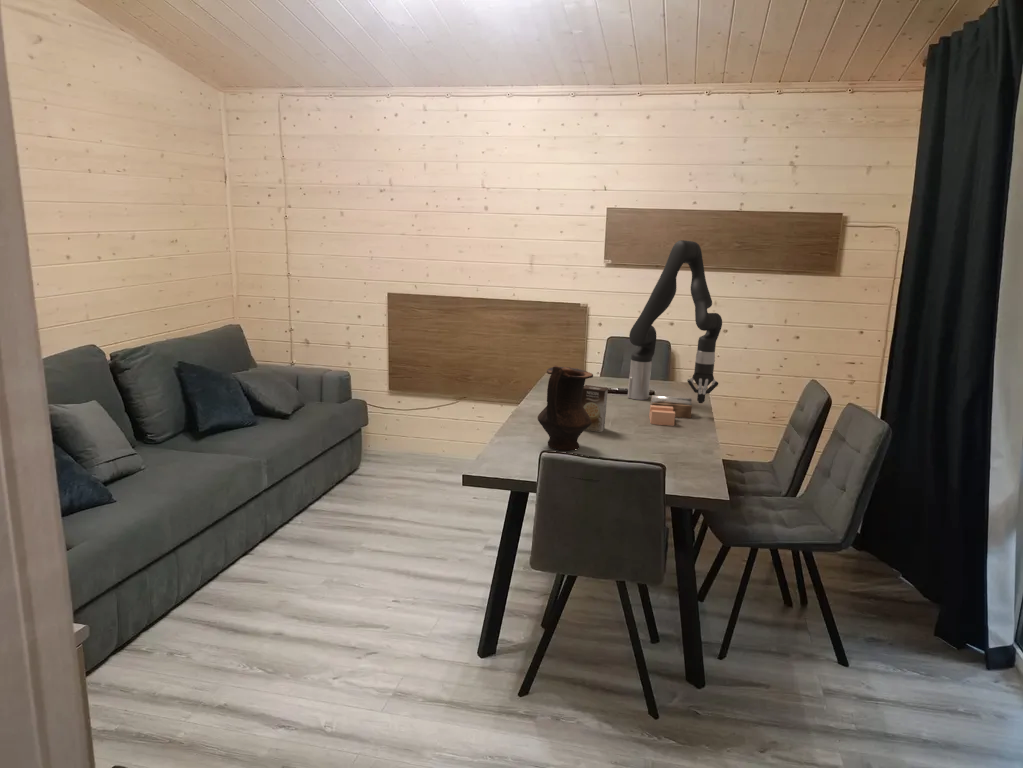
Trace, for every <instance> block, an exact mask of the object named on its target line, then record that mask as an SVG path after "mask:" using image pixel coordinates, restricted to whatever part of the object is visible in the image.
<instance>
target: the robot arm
mask: <svg viewBox="0 0 1023 768" xmlns="http://www.w3.org/2000/svg"><path fill="white" fill-rule="evenodd" d="M667 257H668V258H667V260H666V263H665V266H664V268H663V269H662V272H661V274H660V276H659V278H658V280H657V282H656V283H655V284H656V285H655V286H654V288H653V290H652V292H651V294H650V296H649V298H648V300H647V301H646V303H645V305H644V307H643V309H642V312H640V315H639V317H638V318H637V319H636V321H635V322H634V324H633V325H632V327H631V329H630V331H629V337H628V338H629V341H630V343H631V345H633V346H635V347H636V346H637V348H636V350H634V351H633V352H632V353H631V357H630V367H629V369H630V370H629V375H628V385H627V387H628V389H627V398H628V399H633V400H642V401H643V400H648V399H649V397H650V388H651V387H650V385H651V383H650V382H651V372H652V361H653V358H654V355H655V351H656V345H657V344H656V343H657V331H656V328H655V327H654V326H653V324H654V322H655V321H656V320H657V319H658V318H659V317H660V316H662V314H663V313H664V312H665V311H666V310H667V309H668V308H669V307H670V305H671V303H672V301H673V299H674V298H675V296H676V293H677V276H678V274H679V271H680V269H681V268H682V265H683V264H688V267H689V269H690V271H691V283H690V294H691V298H692V302H693V304H694V318H695V325H696V326H697V328H698V329H699V330H700V331H703V332H704V331H705V333H704V334H703V335H700V336H699V337H698V339H697V340H698V341H697V348H696V355H695V361H694V363H695V365H694V372H693V375H692V377H690V378H688V379H687V383H688V385H689V386H690V388H691V389H692V391H693V393H696V394H697V402H698V403H699V404H703V403H705V401H706V399H705V398H706V395H707V394H710V393H712V392H713V390H715V388H717V386H718V385H719V381H718V380H715V377H714V371H715V370H714V369H715V363H716V362H715V361H716V360H715V359H716V346H717V345H716V344H717V341H718V338H719V336H720V334H721V333H720V332H721V329H722V327H723V319H722V316H721V314H719V313H717V312H708V309H710V308H711V307H712V306H713V300H712V297H711V293H710V291H709V287H708V284H707V280H706V274H705V266H704V262H703V261H704V259H703V253H702V248H701V247H700V244H699V243H698V242H696V241H691V240H681V239H680V240H678V241H676V242H674V244H673V246H672V247H671V250H670V252H669V255H668V256H667ZM694 383H695V384H696V385H697V388H696V386H695V385H694ZM710 384H711V385H710ZM708 386H709V387H708Z"/></svg>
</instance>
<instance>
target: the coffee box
mask: <svg viewBox="0 0 1023 768" xmlns="http://www.w3.org/2000/svg"><path fill="white" fill-rule="evenodd" d="M608 392H609V388H608V387H606V386H604V387H603V386H596V385H590V384H584V389H583V394H582V398H581V402H582V406H583V408H584V409H585V410H586V412H587V413H588V415H589V417H590V419H591V422H592V423H591V425H590V426H589V427H588V428H587V429H585V430H584V431H590V430H591V431H592V432H597V431H598V433H602V432H603V431H604V430H605V427H606V425H605V424H606V415H607V414H606V413H607V403H608V402H607V401H608V394H609V393H608Z"/></svg>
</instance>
